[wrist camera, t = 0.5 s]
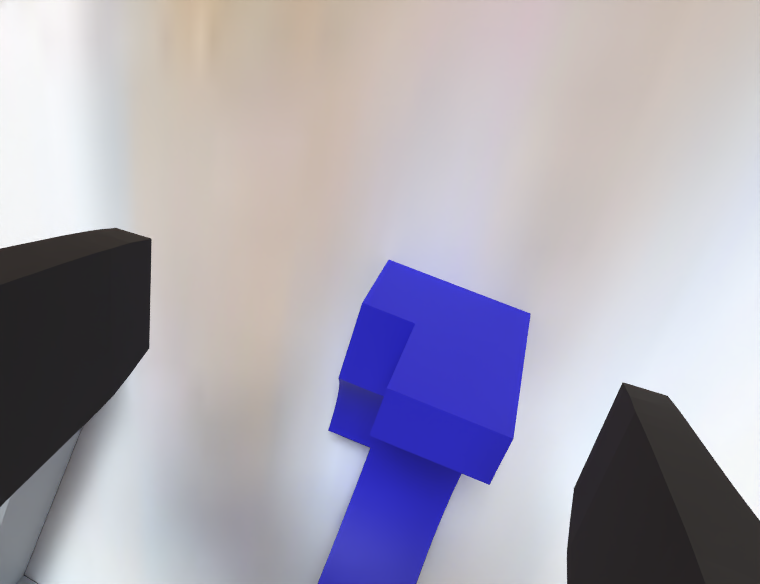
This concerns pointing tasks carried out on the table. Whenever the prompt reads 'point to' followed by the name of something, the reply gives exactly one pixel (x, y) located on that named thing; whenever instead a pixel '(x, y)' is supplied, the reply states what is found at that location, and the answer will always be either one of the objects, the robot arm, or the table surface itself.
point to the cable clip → (420, 415)
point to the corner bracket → (29, 515)
